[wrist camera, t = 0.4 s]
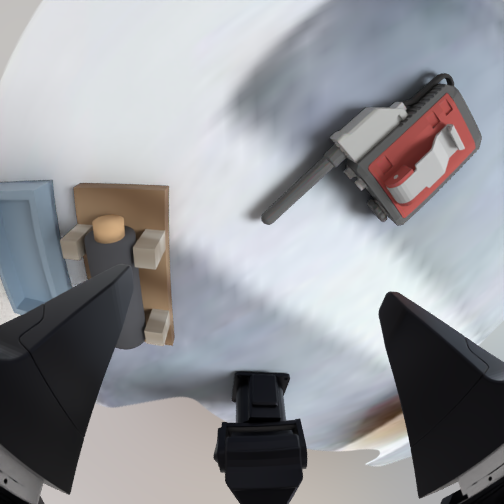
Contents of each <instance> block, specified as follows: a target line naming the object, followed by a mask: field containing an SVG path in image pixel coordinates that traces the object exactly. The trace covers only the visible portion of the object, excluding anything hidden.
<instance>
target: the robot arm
mask: <svg viewBox="0 0 504 504" xmlns="http://www.w3.org/2000/svg"><path fill="white" fill-rule="evenodd" d="M133 290H134V284H133V274H132V268H131V266H130V265H125V264H118V265H116V266H114V267H112V268H110V269H108V270H106V271H104V272H102V273H100V274H98V275H96V276H94V277H92V278H90V279H89V280H87V281H85V282H83V283H81V284H79V285H77V286H75V287H73V288H71V289H69V290H67V291H65V292H64V293H62V294H60V295H58V296H56V297H54V298H52V299H51V300H49V301H47V302H45V304H41V305H39V306H38V307H36V308H34V309H32V310H30V311H28V312H26V313H25V314H23V315H21V316H19V317H16V318H14V319H12V320H10V321H8V322H6V323H4V324H2V325H0V504H44V502H43V500H42V498H41V496H40V493H41V490H42V486H43V483H44V484H47V485H48V486H51V487H53V488H55V489H57V490H60V491H62V492H64V493H66V494H70V492H71V488H72V484H73V480H74V475H75V471H76V467H77V463H78V459H79V455H80V451H81V448H82V444H83V441H84V438H83V437H85V433H86V430H87V427H88V423H89V420H90V417H91V414H92V410H93V408H94V405H95V402H96V399H97V396H98V393H99V390H100V387H101V384H102V381H103V378H104V376H105V373H106V370H107V367H108V365H109V362H110V359H111V357H112V354H113V352H114V349H115V347H116V344H117V341H118V339H119V337H120V334H121V331H122V329H123V325H124V322H125V318H126V315H127V311H128V308H129V304H130V301H131V298H132V295H133ZM379 319H380V324H381V328H382V333H383V338H384V343H385V348H386V351H387V355H388V358H389V362H390V365H391V369H392V372H393V376H394V379H395V383H396V387H397V391H398V394H399V398H400V402H401V406H402V411H403V415H404V419H405V424H406V428H407V433H408V437H409V442H410V447H411V453H412V459H413V465H414V470H415V477H416V484H417V491H418V496H419V498H423V497H425V496H427V495H430V494H432V493H435V492H437V491H439V490H441V489H444V488H446V487H448V486H450V485H452V484H454V483H456V482H459V485H460V488H461V489H460V490H458V491H457V492H455V493H453V494H451V495H449V496H447V497H445V498H443V499H442V502H441V504H504V362H503V361H501V360H500V359H498V358H496V357H495V356H493V355H491V354H490V353H488V352H487V351H485V350H484V349H482V348H481V347H479V346H478V345H476V344H475V343H474V342H472V341H471V340H469V339H468V338H466V337H464V336H463V335H462V334H460V333H459V332H458V331H456V330H455V329H453V328H452V327H450V326H449V325H447V324H446V323H444V322H443V321H441V320H440V319H438V318H437V317H435V316H434V315H432V314H431V313H429V312H428V311H426V310H425V309H423V308H422V307H420V306H419V305H417V304H415V303H414V302H412V301H411V300H409V299H408V298H406V297H405V296H403V295H402V294H400V293H398V292H388V293H387V294H386V295H385V298H384V300H383V302H382V304H381V307H380V309H379ZM289 380H290V375H289V374H272V373H248V372H236V373H235V377H234V385H233V393H232V401H233V402H236V423H227V422H222V427H221V428H218V437H217V444H216V448H215V452H214V460H215V461H216V462H217V463H218V466H219V467H220V472H222V473H223V472H224V473H225V481H226V484H227V486H228V487H229V489H230V490H231V492H232V493H233V494H234V496H235V497H236V499H237V500H238V501H239V503H240V504H289V502H290V501H291V499H292V497H293V496H294V494H295V492H296V490H297V488H298V487H299V485H300V483H301V481H302V479H303V473H302V469H306V467H307V448H306V442H305V438H304V434H303V429H302V425H301V420H300V419H295V420H288V421H286V415H285V406H284V397H283V396H284V393H285V391H286V388H287V385H288V383H289Z"/></svg>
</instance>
